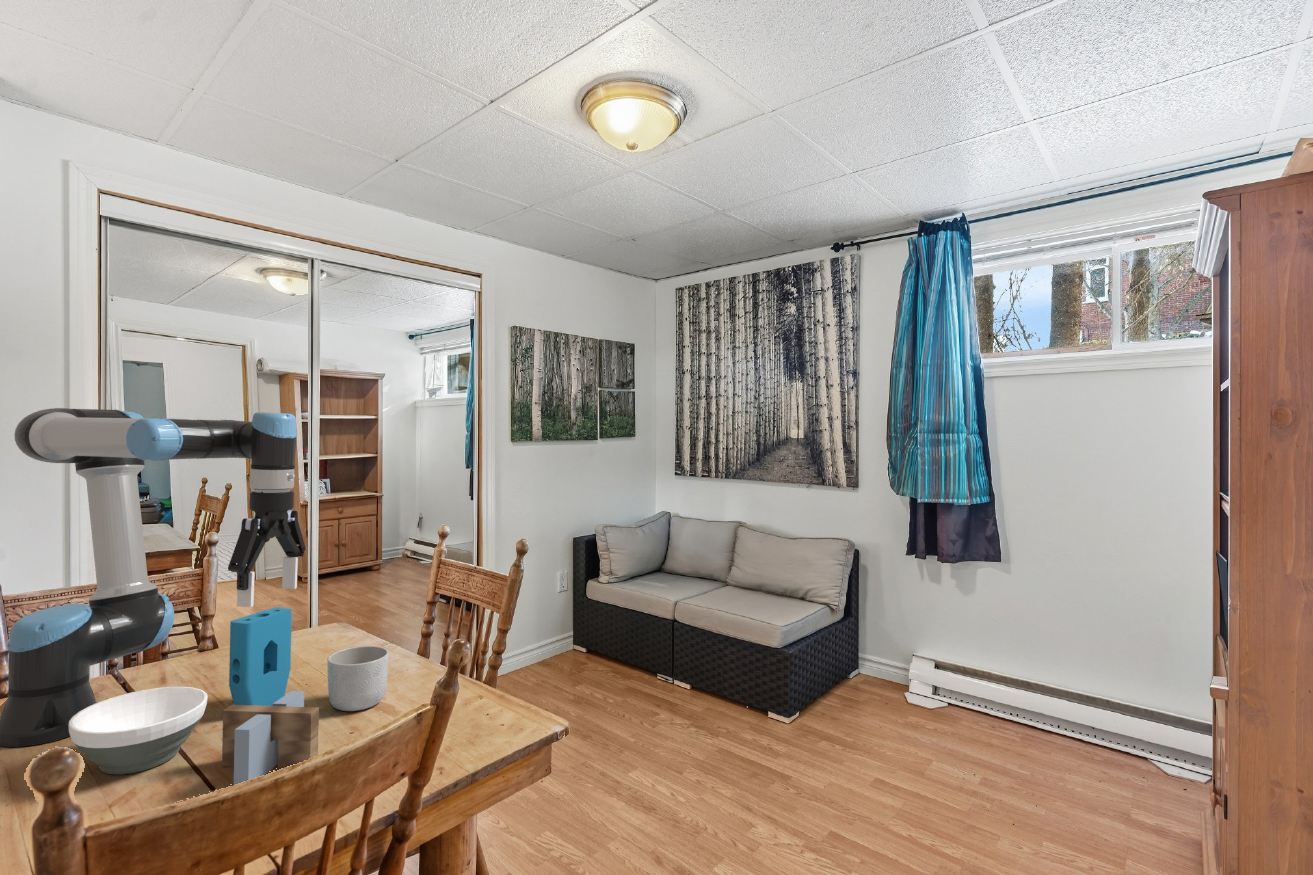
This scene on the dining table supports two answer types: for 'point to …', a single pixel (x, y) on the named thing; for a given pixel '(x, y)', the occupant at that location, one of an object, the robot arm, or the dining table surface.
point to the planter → (357, 677)
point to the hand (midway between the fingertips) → (268, 596)
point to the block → (260, 657)
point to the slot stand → (259, 742)
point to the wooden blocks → (276, 731)
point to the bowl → (137, 728)
